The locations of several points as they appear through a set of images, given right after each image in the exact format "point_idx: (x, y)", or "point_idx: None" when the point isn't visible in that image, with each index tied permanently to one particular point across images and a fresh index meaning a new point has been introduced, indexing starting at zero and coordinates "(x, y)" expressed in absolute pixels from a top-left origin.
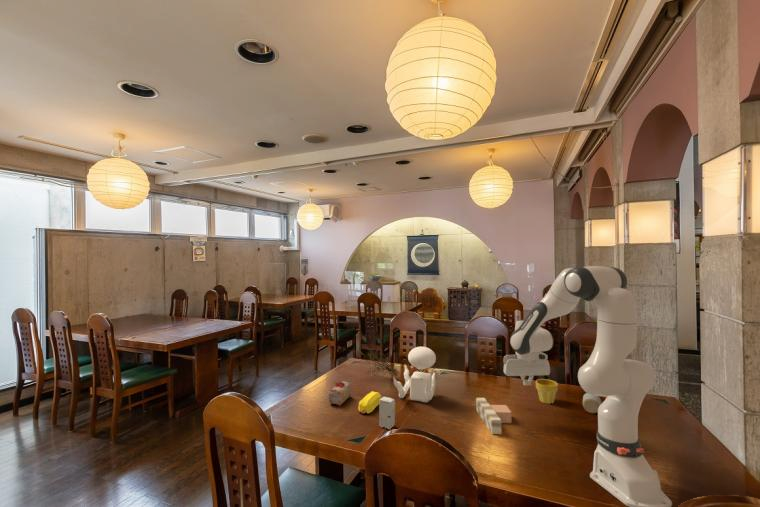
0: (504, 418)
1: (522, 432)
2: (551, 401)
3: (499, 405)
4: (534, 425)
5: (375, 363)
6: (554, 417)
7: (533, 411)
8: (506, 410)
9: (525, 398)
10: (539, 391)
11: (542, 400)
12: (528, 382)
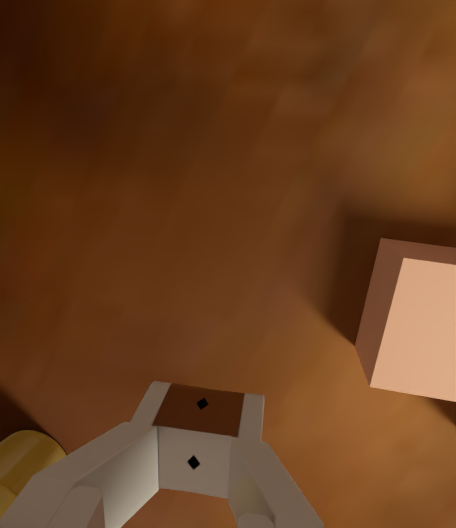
0: (443, 252)
1: (380, 92)
2: (15, 436)
3: (429, 387)
4: (242, 188)
5: None
6: (73, 277)
7: (161, 364)
8: (424, 296)
9: None
10: None
11: (58, 458)
12: (184, 416)
